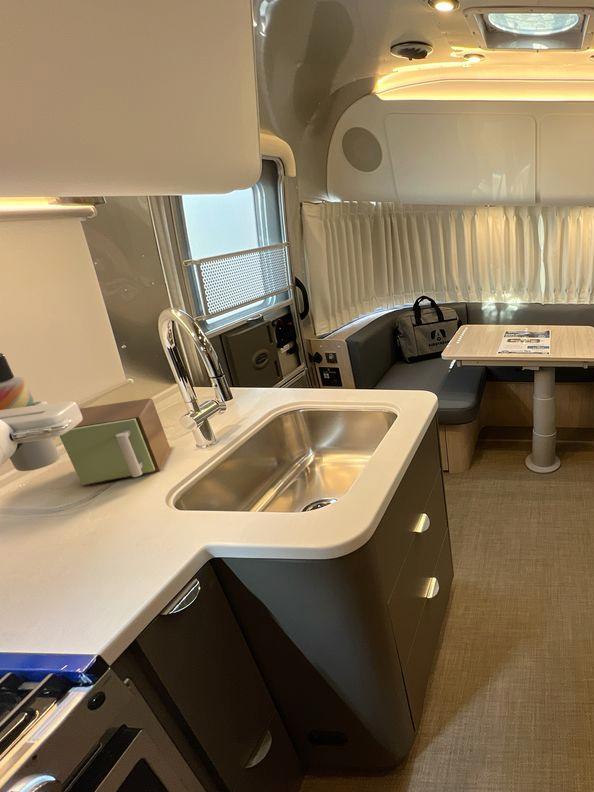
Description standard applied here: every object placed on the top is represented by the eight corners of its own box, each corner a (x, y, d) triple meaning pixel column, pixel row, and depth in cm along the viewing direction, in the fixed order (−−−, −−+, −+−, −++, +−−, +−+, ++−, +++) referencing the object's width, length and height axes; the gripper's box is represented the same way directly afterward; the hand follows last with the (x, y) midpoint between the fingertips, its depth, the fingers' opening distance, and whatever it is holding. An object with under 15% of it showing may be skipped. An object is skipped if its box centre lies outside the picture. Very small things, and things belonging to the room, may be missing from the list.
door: (74, 495, 101) (48, 441, 96) (83, 482, 106) (59, 430, 101) (149, 480, 107) (128, 427, 101) (155, 469, 111) (135, 418, 106)
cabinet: (83, 486, 107) (57, 429, 101) (101, 461, 117) (77, 408, 111) (159, 471, 112) (139, 416, 106) (170, 448, 122) (151, 397, 116)
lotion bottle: (17, 462, 84) (-39, 353, 76) (61, 452, 88) (12, 346, 80) (14, 475, 80) (-45, 361, 72) (60, 464, 84) (8, 353, 76)
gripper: (54, 411, 72) (87, 381, 83) (-145, 439, 64) (-79, 402, 75) (71, 448, 75) (100, 414, 86) (-119, 479, 67) (-59, 438, 78)
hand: (15, 409), depth 81 cm, fingers closed on lotion bottle, 5 cm apart
